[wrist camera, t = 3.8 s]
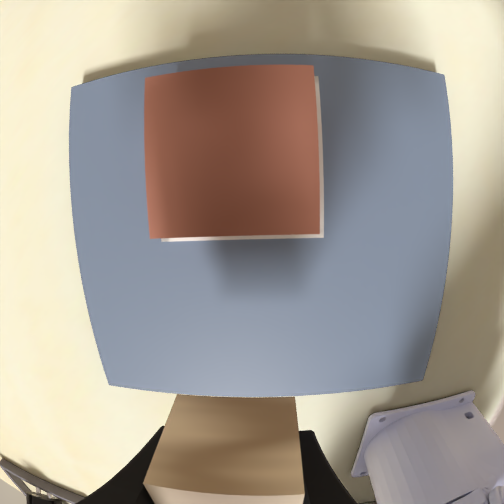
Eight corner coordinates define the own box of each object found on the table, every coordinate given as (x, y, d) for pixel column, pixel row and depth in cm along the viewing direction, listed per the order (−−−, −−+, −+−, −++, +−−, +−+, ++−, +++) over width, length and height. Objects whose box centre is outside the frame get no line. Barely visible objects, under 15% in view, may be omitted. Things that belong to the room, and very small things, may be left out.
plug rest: (88, 498, 24) (85, 506, 22) (118, 531, 26) (116, 538, 25) (2, 458, 24) (-2, 463, 23) (35, 497, 27) (32, 502, 26)
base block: (301, 91, 12) (313, 65, 9) (306, 220, 14) (319, 234, 10) (172, 99, 13) (145, 77, 9) (176, 224, 14) (149, 238, 11)
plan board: (435, 79, 12) (445, 74, 11) (416, 371, 17) (423, 381, 16) (80, 90, 13) (70, 86, 12) (114, 376, 18) (108, 385, 16)
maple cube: (294, 396, 9) (304, 494, 5) (289, 463, 10) (293, 542, 6) (177, 394, 9) (143, 483, 6) (194, 460, 10) (175, 535, 6)
